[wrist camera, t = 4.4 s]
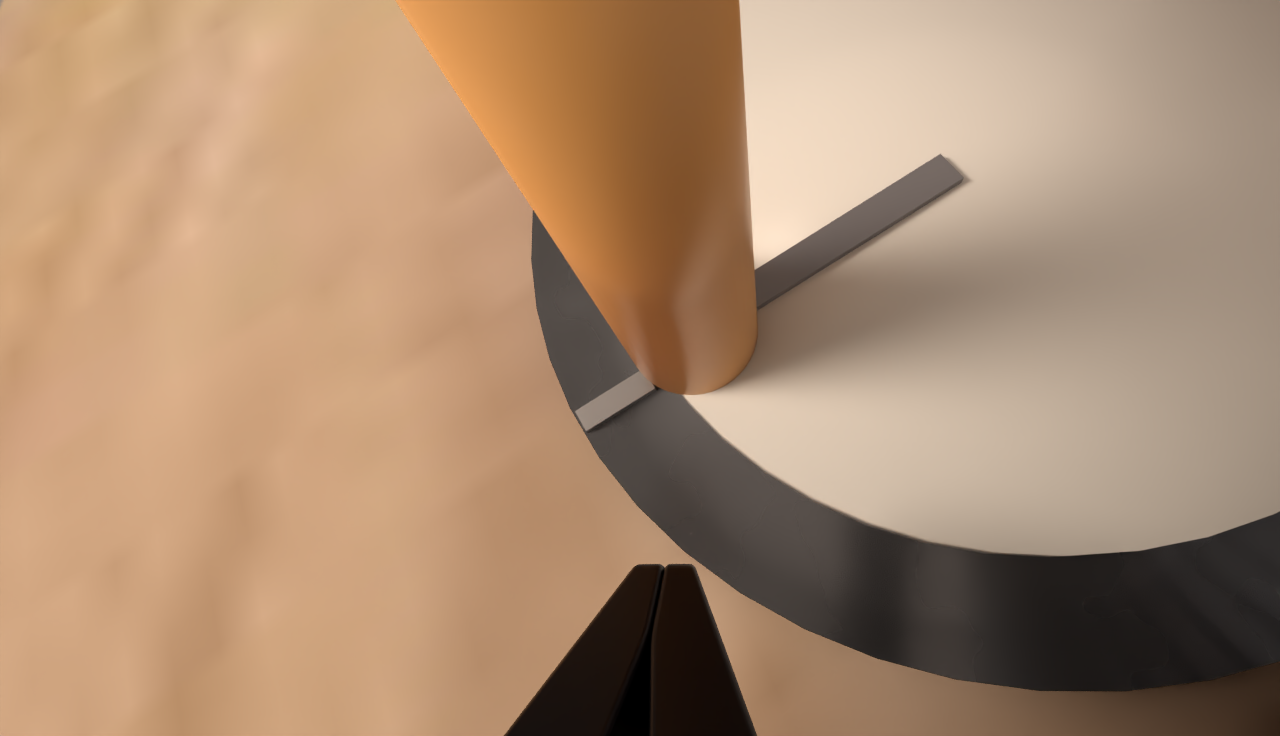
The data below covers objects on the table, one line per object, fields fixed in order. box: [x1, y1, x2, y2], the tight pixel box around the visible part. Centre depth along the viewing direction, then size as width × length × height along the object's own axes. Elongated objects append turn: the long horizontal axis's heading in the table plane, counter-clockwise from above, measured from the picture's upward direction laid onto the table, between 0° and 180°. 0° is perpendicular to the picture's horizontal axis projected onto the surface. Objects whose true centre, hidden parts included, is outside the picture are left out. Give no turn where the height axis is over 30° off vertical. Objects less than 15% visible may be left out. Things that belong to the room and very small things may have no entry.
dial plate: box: [531, 210, 1280, 691], centre depth 16 cm, size 23×23×2 cm
